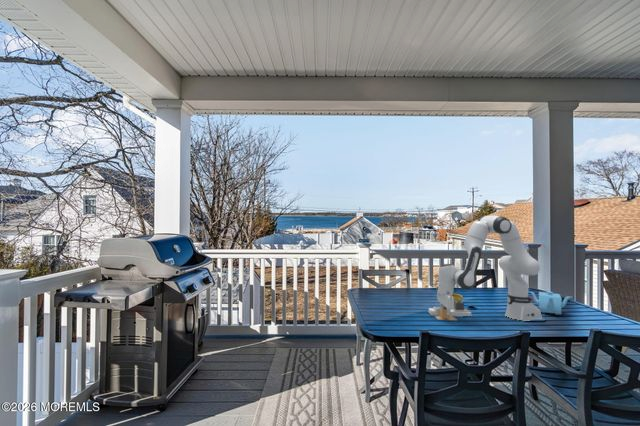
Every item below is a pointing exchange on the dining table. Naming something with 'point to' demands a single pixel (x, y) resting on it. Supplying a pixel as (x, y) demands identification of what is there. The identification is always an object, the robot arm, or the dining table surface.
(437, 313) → the power strip
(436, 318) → the cork mat
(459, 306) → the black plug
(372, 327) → the dining table surface
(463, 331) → the dining table surface
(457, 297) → the plant pot
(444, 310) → the orange charger
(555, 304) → the teakettle
